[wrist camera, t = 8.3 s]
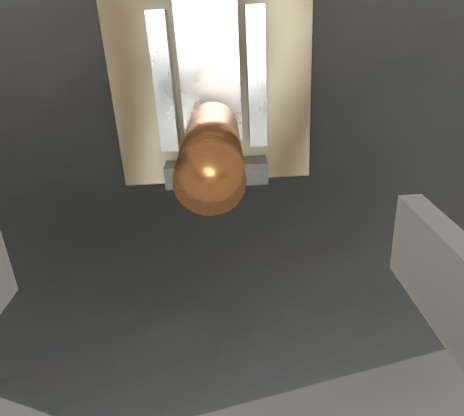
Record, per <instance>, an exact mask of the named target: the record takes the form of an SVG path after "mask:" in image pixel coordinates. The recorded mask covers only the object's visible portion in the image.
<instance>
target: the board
mask: <svg viewBox="0 0 464 416" xmlns="http://www.w3.org/2000/svg"><path fill="white" fill-rule="evenodd" d="M96 2H97V8H98V14H99V20H100V27H101V33H102V39H103V45H104V52H105V58H106V64H107V70H108V76H109V83H110V89H111V95H112V101H113V108H114V114H115V120H116V126H117V132H118V139H119V145H120V151H121V157H122V164H123V170H124V176H125V182H126V185H144V184H162V183H165V179H164V171H163V168H164V166H165V163H166V161H167V160H177V158H178V154H179V151H180V149H179V151H169V152H162V151H161V143H160V134H159V126H158V118H157V109H156V101H155V93H154V85H153V76H152V68H151V60H150V52H149V43H148V35H147V27H146V18H145V10H157V9H167V11H168V21H169V31H170V41H171V51H172V60H173V70H174V80H175V90H176V100H177V110H178V120H179V130H180V139H181V145H182V141H183V138H184V135H185V131H184V121H183V110H182V100H181V90H180V79H179V69H178V59H177V48H176V38H175V28H174V17H173V7H172V0H96ZM247 4H265V35H266V92H267V146H258V147H250V143H249V133H248V105H247V77H246V49H245V21H244V5H247ZM237 15H238V39H239V63H240V87H241V111H242V135H243V139H240V141H241V147H242V153H243V156H257V155H265V156H266V159H267V162H268V178H269V177H287V176H304V175H309V147H310V104H311V60H312V16H313V0H237ZM181 145H180V148H181Z"/></svg>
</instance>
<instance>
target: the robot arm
mask: <svg viewBox="0 0 464 416" xmlns="http://www.w3.org/2000/svg"><path fill="white" fill-rule="evenodd" d="M390 268H391V270H392V271H393V273H394V274H395V276H396V277H397V278H398V280H399V281H400V283H401V284H402V286H403V287H404V289H405V290H406V292H407V293H408V294H409V296H410V297H411V299H412V300H413V302H414V303H415V305H416V306H417V308H418V309H419V310H420V312H421V313H422V315H423V316H424V318H425V319H426V321H427V322H428V324H429V325H430V326H431V328H432V329H433V331H434V332H435V334H436V335H437V337H438V338H439V340H440V341H441V342H442V344H443V345H444V347H445V348H446V350H447V351H448V353H449V354H450V356H451V357H452V358H453V360H454V361H455V363H456V364H457V366H458V367H459V368H460V370H461V372H462V373H463V374H464V231H463V230H462V229H461V228H460V227H459V226H458V225H456V224H455V223H454V222H453V221H452V220H451V219H449V218H448V217H447V216H446V215H445V214H444V213H443V212H441V211H440V210H439V209H438V208H437V207H436V206H435V205H433V204H432V203H431V202H430V201H429V200H428V199H427V198H425V197H424V196H423V195H422V194H413V195H398V201H397V210H396V218H395V227H394V235H393V244H392V253H391V261H390ZM17 291H18V287H17V283H16V280H15V277H14V274H13V270H12V267H11V264H10V260H9V257H8V254H7V251H6V247H5V244H4V241H3V237H2V234H1V231H0V314H1V313H2V312H3V310H4V309H5V307H6V306H7V305H8V303H9V302H10V301H11V299H12V298H13V296H14V295H15V294H16V292H17Z"/></svg>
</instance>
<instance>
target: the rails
mask: <svg viewBox="0 0 464 416" xmlns="http://www.w3.org/2000/svg"><path fill="white" fill-rule="evenodd" d="M145 18H146V27H147V35H148V43H149V52H150V60H151V68H152V76H153V85H154V93H155V101H156V109H157V118H158V126H159V134H160V143H161V151H162V152H169V151H179V149H180V145H181V139H180V130H179V120H178V110H177V100H176V90H175V80H174V70H173V60H172V51H171V41H170V31H169V21H168V11H167V9H157V10H145ZM244 21H245V49H246V77H247V105H248V133H249V143H250V147H258V146H267V92H266V35H265V4H247V5H244ZM243 160H244V166H245V172H246V179H247V183H246V186H250V185H268V162H267V159H266V156H265V155H257V156H243ZM176 161H177V160H167V161H166V163H165V166H164V168H163V171H164V179H165V188H166V190H173V186H172V175H173V171H174V167H175V164H176Z"/></svg>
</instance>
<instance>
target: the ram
mask: <svg viewBox="0 0 464 416" xmlns="http://www.w3.org/2000/svg"><path fill="white" fill-rule="evenodd" d="M172 7H173V17H174V28H175V38H176V48H177V59H178V69H179V79H180V90H181V100H182V110H183V121H184V131H185V135H184V138H183V141H182V145H181V148H180V151H179V154H178V158H177V161H176V164H175V167H174V171H173V175H172V186H173V190H174V193H175V195H176V197H177V199H178V200H179V202H180V203H181V204H182V205H183V206H184V207H185V208H187V209H188V210H190V211H192V212H194V213H196V214H200V215H205V216H215V215H220V214H223V213H226V212H228V211H230V210H231V209H232V208H234V207H235V206H236V205H237V204H238V203H239V202H240V200H241V199H242V197H243V195H244V193H245V190H246V183H247V179H246V172H245V166H244V160H243V153H242V147H241V141H240V139H243V135H242V111H241V87H240V63H239V39H238V15H237V0H172Z"/></svg>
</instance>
